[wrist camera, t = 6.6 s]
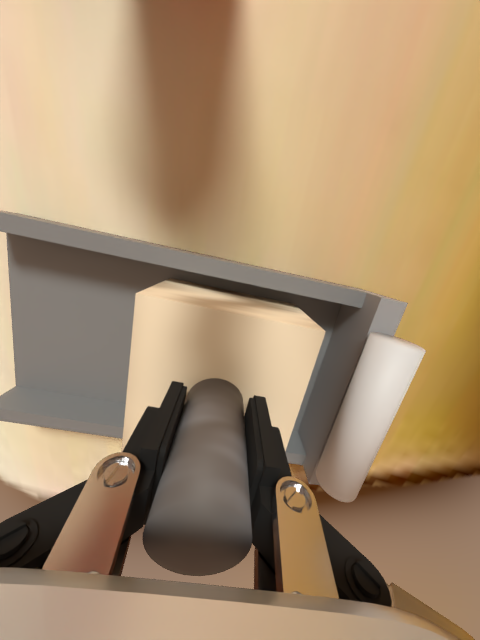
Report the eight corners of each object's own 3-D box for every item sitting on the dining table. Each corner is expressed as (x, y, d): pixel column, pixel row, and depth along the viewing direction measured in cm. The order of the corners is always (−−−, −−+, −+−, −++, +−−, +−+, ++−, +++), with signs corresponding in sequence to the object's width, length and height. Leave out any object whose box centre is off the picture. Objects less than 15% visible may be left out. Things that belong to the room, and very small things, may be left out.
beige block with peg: (294, 304, 17) (424, 417, 5) (261, 417, 20) (302, 651, 8) (170, 278, 16) (14, 346, 5) (154, 399, 19) (32, 631, 7)
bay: (367, 290, 18) (458, 317, 11) (313, 435, 22) (353, 527, 15) (18, 213, 16) (-164, 182, 9) (27, 389, 20) (-95, 471, 12)
